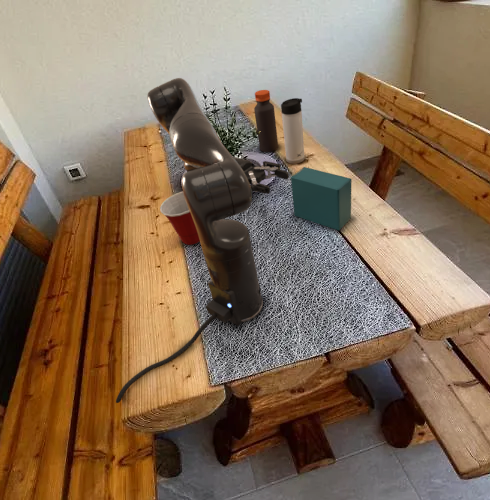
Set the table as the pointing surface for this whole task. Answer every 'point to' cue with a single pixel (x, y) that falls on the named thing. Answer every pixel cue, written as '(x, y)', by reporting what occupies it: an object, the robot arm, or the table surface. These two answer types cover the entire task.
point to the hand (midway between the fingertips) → (278, 182)
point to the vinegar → (265, 121)
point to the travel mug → (293, 130)
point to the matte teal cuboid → (322, 197)
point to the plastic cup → (180, 218)
